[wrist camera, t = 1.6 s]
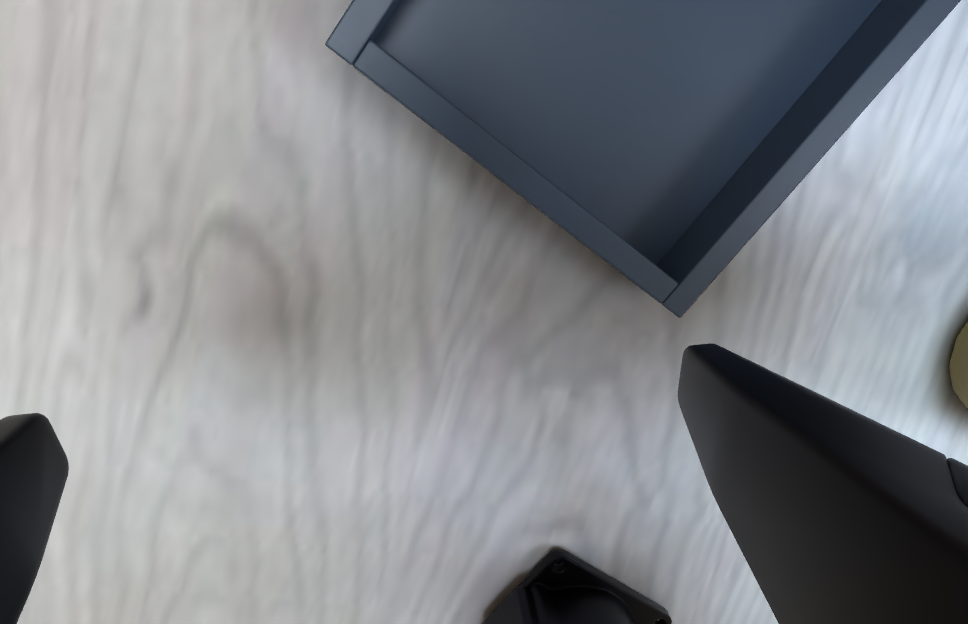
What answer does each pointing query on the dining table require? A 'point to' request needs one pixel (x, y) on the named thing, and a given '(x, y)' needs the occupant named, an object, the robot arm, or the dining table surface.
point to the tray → (641, 107)
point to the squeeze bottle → (960, 366)
